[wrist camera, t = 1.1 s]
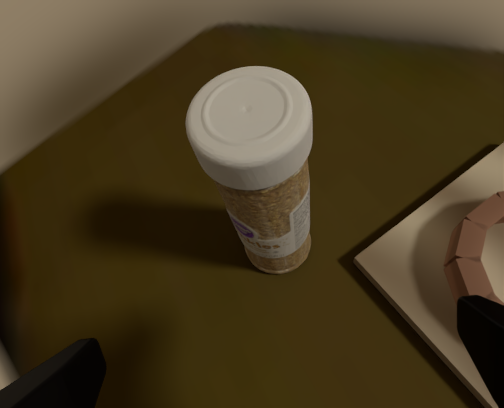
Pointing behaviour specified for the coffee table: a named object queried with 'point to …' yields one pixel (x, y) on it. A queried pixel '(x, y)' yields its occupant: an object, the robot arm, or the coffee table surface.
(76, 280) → the coffee table surface
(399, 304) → the collar base
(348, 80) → the coffee table surface
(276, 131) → the sprinkles bottle
